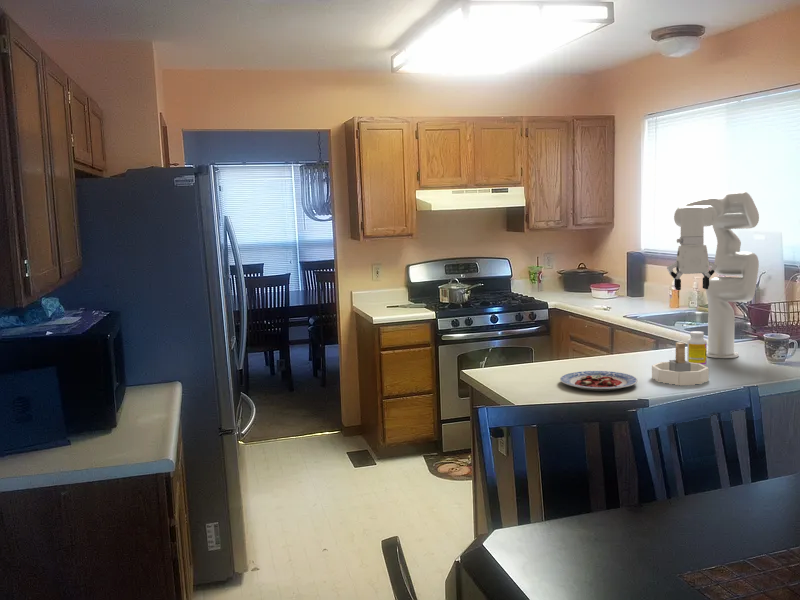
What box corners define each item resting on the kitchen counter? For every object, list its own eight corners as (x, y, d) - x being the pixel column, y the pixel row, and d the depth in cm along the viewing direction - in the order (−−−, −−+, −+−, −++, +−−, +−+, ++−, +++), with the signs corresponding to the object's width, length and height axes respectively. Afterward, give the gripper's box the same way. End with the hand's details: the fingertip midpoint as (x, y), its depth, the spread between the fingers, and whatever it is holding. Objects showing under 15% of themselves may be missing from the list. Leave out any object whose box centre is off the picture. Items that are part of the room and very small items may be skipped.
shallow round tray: (647, 374, 244) (646, 357, 243) (694, 372, 243) (694, 355, 242) (664, 386, 227) (663, 367, 226) (715, 384, 226) (715, 365, 225)
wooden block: (675, 376, 236) (675, 342, 235) (681, 375, 236) (681, 342, 235) (679, 378, 233) (679, 344, 232) (684, 377, 233) (684, 343, 232)
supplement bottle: (708, 367, 250) (708, 333, 249) (689, 367, 252) (689, 333, 250) (704, 363, 257) (704, 330, 255) (685, 363, 258) (685, 330, 257)
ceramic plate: (635, 396, 216) (635, 387, 216) (554, 392, 226) (554, 383, 226) (639, 378, 240) (639, 370, 240) (566, 375, 250) (565, 367, 249)
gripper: (671, 243, 236) (671, 291, 238) (721, 240, 235) (720, 289, 237) (663, 242, 243) (663, 289, 245) (712, 240, 243) (711, 287, 245)
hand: (691, 289), depth 241 cm, fingers open, 9 cm apart
